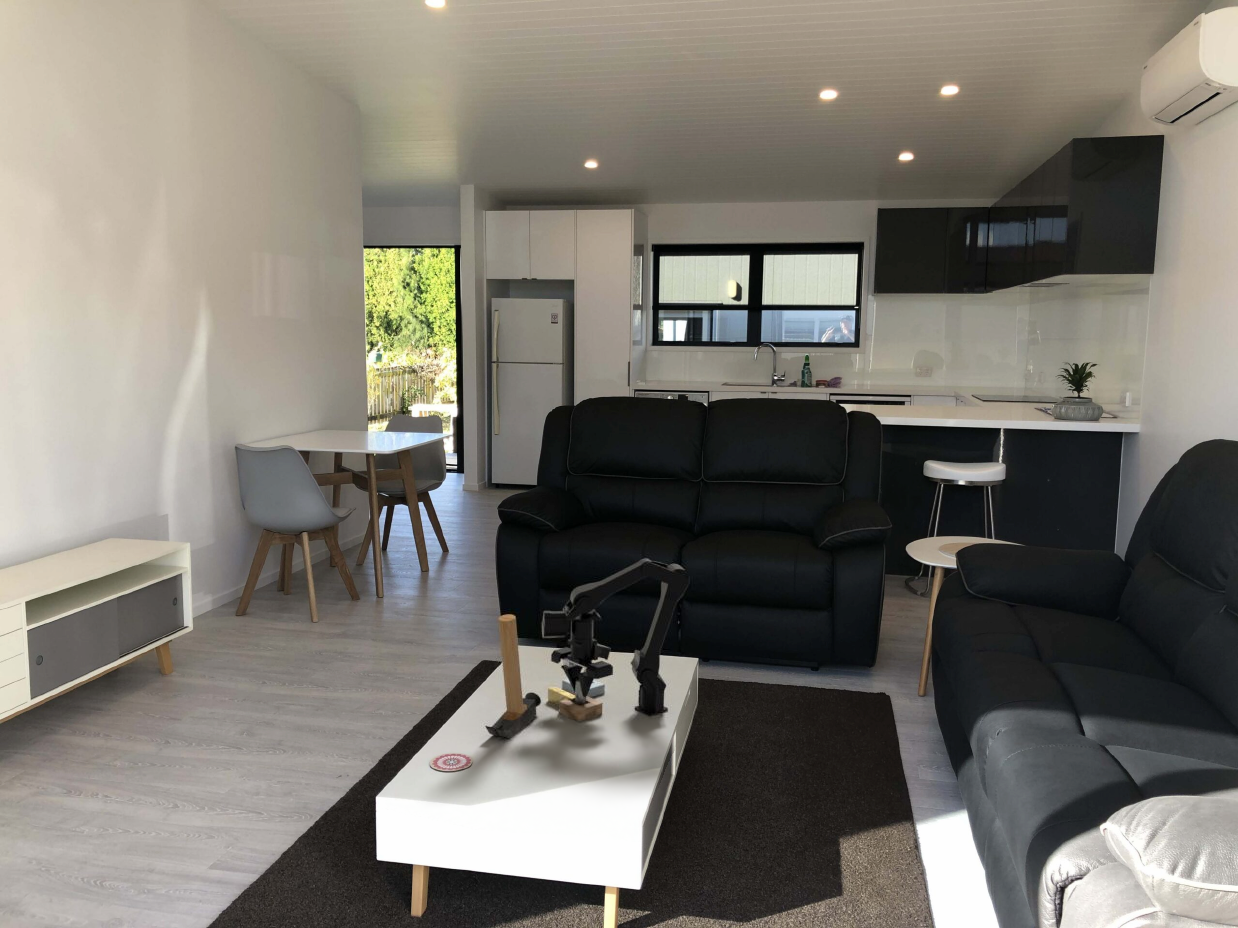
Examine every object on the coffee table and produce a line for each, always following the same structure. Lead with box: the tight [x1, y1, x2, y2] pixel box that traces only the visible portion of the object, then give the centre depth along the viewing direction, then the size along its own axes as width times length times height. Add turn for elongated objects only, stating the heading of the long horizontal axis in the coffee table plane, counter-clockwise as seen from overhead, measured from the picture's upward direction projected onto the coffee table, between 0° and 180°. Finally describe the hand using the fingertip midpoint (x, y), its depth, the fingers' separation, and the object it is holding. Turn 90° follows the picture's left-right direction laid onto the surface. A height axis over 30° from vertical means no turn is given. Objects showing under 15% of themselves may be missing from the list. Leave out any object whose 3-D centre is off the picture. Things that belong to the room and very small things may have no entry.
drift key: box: [547, 686, 575, 706], centre depth 245 cm, size 10×2×4 cm, turn 42°
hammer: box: [485, 613, 542, 739], centre depth 226 cm, size 20×5×30 cm, turn 158°
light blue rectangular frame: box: [561, 678, 606, 698], centre depth 256 cm, size 10×7×2 cm
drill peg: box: [574, 678, 587, 706], centre depth 239 cm, size 3×3×9 cm
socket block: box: [558, 696, 603, 723], centre depth 239 cm, size 8×8×3 cm
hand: (581, 694), depth 239 cm, fingers closed on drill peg, 3 cm apart
